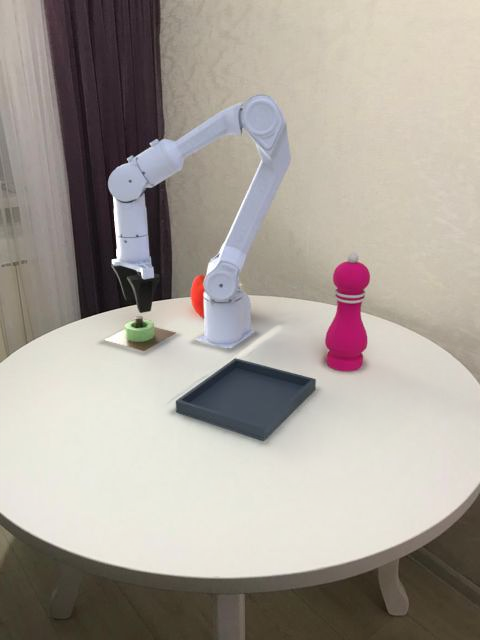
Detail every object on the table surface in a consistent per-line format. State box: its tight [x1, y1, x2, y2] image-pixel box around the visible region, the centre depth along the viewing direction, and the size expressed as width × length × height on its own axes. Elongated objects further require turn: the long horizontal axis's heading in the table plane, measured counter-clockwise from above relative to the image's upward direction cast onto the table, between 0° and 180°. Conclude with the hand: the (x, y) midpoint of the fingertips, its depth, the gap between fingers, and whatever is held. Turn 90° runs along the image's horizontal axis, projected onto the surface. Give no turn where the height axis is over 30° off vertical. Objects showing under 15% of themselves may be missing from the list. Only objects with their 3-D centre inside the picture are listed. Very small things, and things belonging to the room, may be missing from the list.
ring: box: [124, 319, 155, 342], centre depth 114 cm, size 5×5×2 cm
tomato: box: [190, 274, 241, 318], centre depth 123 cm, size 11×11×9 cm
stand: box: [103, 315, 177, 352], centre depth 113 cm, size 10×10×4 cm
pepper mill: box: [324, 252, 371, 372], centre depth 100 cm, size 7×7×20 cm
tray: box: [175, 357, 317, 442], centre depth 92 cm, size 17×15×2 cm
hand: (137, 305), depth 111 cm, fingers open, 7 cm apart
